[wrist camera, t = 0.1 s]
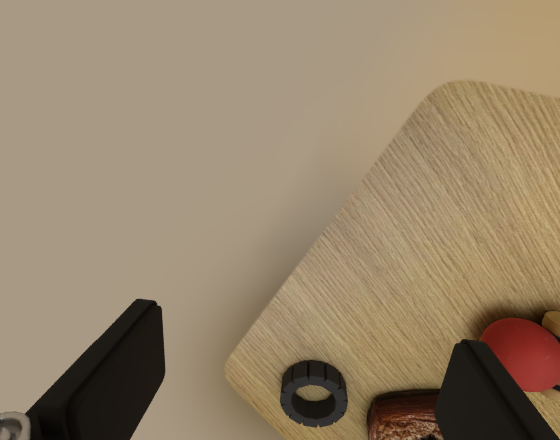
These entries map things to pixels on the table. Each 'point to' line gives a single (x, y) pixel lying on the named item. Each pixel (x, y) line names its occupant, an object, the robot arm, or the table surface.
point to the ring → (308, 410)
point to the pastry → (404, 416)
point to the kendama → (529, 352)
